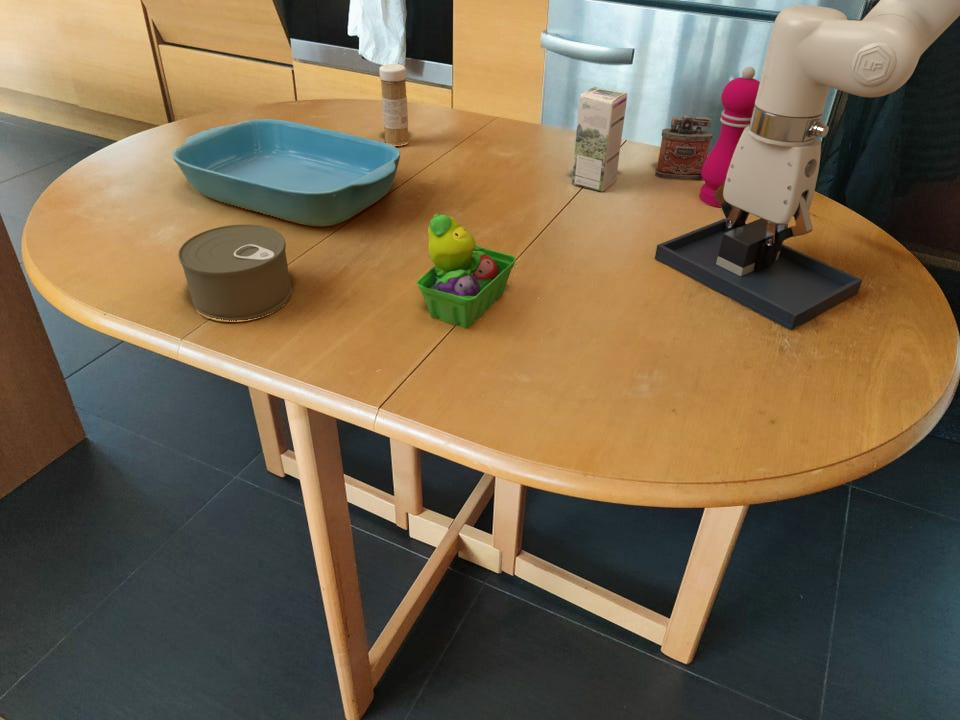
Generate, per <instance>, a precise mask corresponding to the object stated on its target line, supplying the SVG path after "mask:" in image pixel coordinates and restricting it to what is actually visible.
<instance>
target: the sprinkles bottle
mask: <svg viewBox="0 0 960 720" xmlns="http://www.w3.org/2000/svg"><path fill="white" fill-rule="evenodd" d="M378 69H379V70H378V71H379V73H378V74H379V79H380V86H381V101H382V102H381V104H382V119H383V120H382V122H383V130H384V143H385V142H386V143H388V144H392V145H401V144H405V143H407V142H408V141H409V142H410V139H409V114H408V111H409V110H408V96H407V85H406V82H407V68H406V66H405V65H403V64H399V63H388V64H387V63H386V64H383V65H381V66H380V67H379V68H378Z"/></svg>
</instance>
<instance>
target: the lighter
mask: <svg viewBox="0 0 960 720" xmlns="http://www.w3.org/2000/svg"><path fill="white" fill-rule="evenodd" d="M711 123H712V119H711V118H710V117H706V116H705V117H704V116H696V117H692V116H691V115H690V114H684V115H683V116H671V121H670V127H669V128H663V129H662V130H661V141H660V148H659V154H658V160H657V165H656V168H655V172H654V176H655V177H656V178H659V179H665V180H672V181H673V180H674V181H688V182H689V181H691V182H692V181H695V182H696V181H698V182H699V181H704V180H703V178H702V175H701V171H702V168H703V164H704V162H705V160H706V158H707V157H708V155H709V150H710V145H711V141H712V139H713V136H714V133H713V132H712V131H710V130H705V129H702V128H710V127H711ZM694 127H696V128H694Z"/></svg>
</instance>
